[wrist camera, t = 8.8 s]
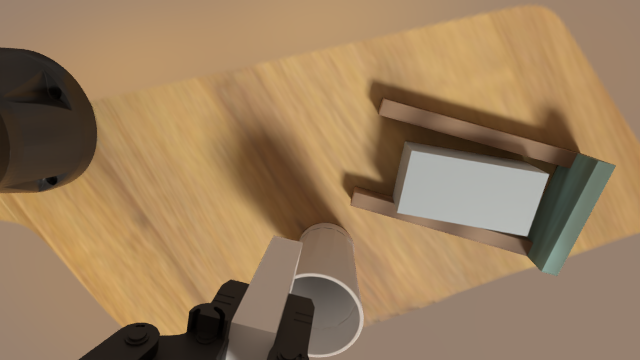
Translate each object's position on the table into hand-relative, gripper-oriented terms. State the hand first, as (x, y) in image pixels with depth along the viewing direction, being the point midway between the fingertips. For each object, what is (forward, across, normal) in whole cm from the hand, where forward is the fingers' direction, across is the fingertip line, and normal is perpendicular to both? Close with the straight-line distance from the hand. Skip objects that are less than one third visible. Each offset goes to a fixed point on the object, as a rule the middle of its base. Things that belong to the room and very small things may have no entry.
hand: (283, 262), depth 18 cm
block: (+21, +14, +2) cm, 25 cm away
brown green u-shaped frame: (+21, +14, +2) cm, 25 cm away
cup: (+21, +3, -10) cm, 23 cm away
